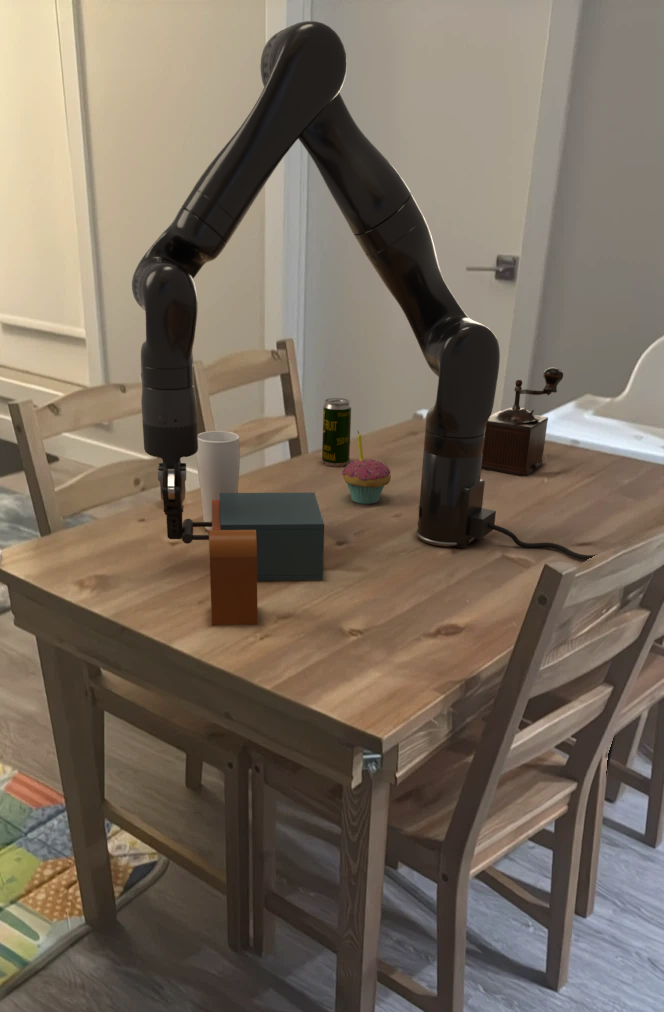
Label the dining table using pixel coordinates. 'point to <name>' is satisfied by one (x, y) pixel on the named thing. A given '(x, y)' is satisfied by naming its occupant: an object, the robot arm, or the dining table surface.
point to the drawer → (202, 525)
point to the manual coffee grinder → (518, 433)
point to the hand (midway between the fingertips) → (175, 537)
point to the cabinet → (279, 532)
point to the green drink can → (336, 432)
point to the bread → (233, 576)
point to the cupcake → (366, 478)
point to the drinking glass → (217, 467)
